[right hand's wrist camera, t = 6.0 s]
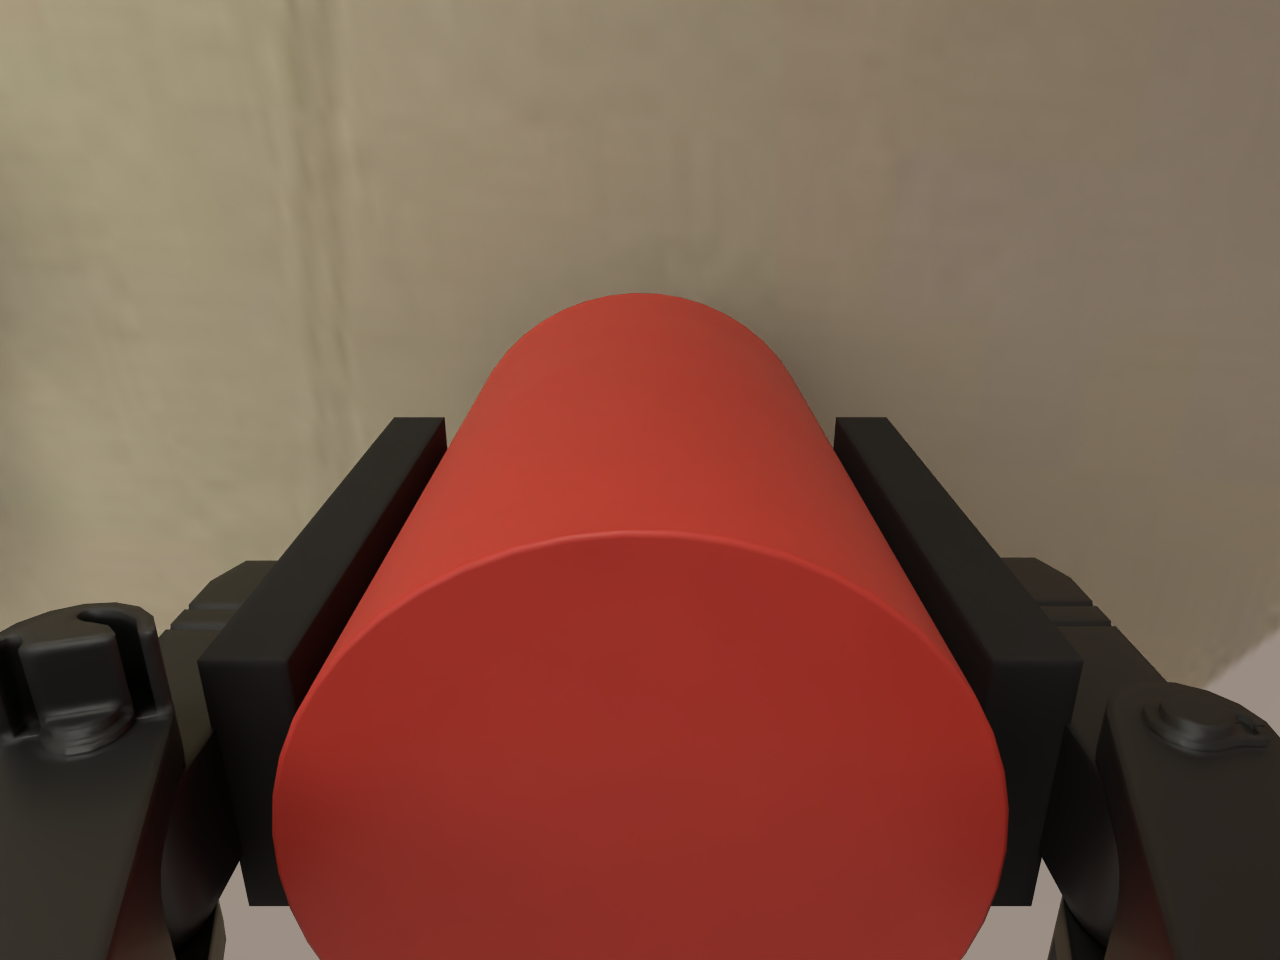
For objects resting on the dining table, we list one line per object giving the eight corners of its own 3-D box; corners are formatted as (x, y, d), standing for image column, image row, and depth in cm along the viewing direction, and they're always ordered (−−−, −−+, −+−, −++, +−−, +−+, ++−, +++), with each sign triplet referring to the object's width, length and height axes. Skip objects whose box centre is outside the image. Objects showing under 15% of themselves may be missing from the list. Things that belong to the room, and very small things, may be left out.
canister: (733, 653, 17) (822, 1167, 9) (428, 555, 16) (207, 1016, 8) (869, 365, 15) (1157, 679, 7) (528, 239, 14) (370, 413, 6)
